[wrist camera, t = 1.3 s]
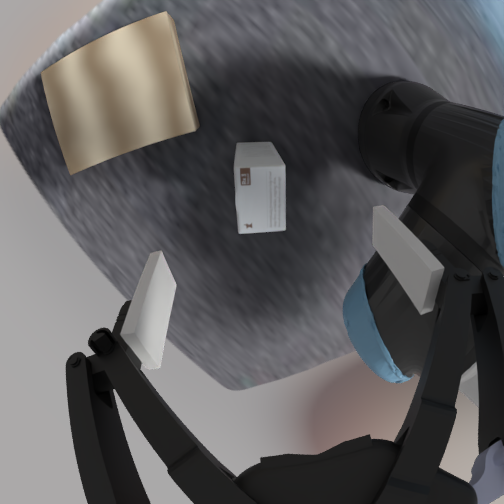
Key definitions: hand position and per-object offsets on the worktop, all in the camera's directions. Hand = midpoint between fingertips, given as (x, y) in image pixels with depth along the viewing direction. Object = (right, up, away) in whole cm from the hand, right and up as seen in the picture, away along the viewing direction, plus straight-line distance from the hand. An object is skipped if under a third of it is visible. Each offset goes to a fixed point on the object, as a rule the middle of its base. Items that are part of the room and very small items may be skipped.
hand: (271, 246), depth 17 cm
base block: (-16, +18, +10) cm, 26 cm away
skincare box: (-1, +10, +16) cm, 19 cm away
